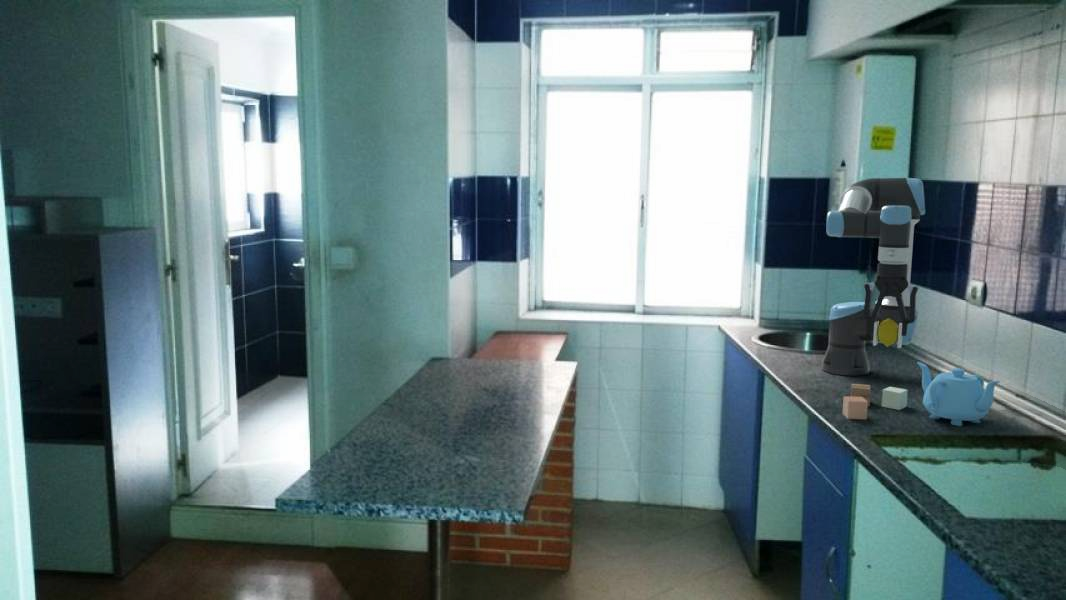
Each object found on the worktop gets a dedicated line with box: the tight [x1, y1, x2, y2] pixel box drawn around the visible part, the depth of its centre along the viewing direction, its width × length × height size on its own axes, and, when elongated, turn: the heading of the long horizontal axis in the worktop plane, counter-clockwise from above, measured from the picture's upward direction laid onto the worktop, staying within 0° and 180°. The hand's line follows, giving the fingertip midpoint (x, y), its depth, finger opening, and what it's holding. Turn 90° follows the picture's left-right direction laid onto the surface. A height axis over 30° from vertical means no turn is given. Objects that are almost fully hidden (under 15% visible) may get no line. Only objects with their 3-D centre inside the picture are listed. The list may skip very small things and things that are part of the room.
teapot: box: [916, 361, 1001, 427], centre depth 214 cm, size 16×20×14 cm
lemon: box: [877, 319, 899, 348], centre depth 219 cm, size 6×6×8 cm
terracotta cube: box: [842, 395, 869, 420], centre depth 218 cm, size 5×5×5 cm
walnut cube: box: [850, 383, 872, 407], centre depth 231 cm, size 5×5×5 cm
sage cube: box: [881, 386, 908, 411], centre depth 227 cm, size 5×5×5 cm
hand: (887, 345), depth 220 cm, fingers closed on lemon, 5 cm apart
